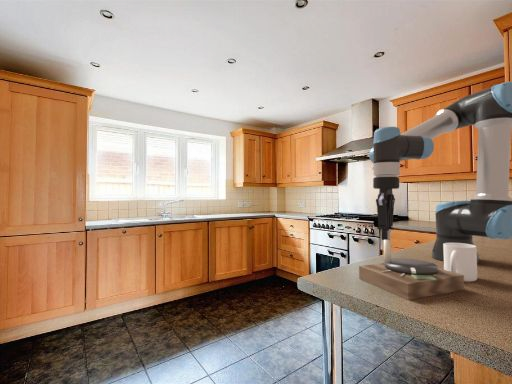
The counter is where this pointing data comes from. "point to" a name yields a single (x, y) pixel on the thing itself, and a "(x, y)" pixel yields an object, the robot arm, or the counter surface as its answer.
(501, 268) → the counter surface
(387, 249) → the gray pegged oval disc
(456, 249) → the mug
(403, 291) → the board
